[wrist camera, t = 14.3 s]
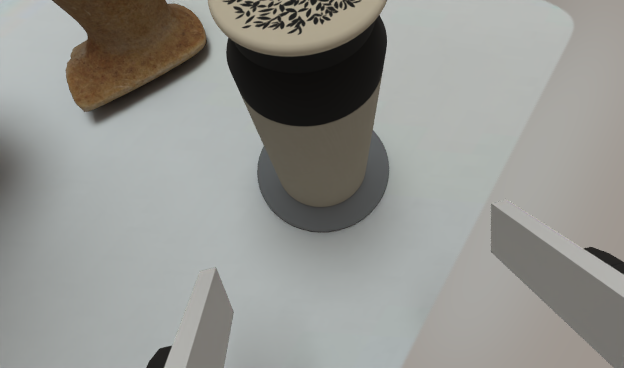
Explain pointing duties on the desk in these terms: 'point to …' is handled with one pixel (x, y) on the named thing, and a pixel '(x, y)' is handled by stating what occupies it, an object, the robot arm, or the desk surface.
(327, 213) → the mat
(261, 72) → the travel mug
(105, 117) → the desk surface
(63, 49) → the desk surface
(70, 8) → the stone cup
